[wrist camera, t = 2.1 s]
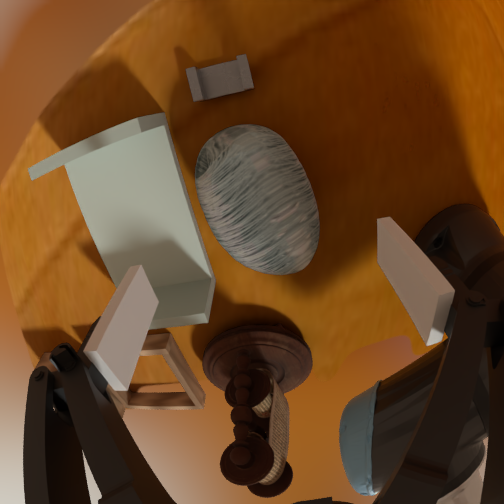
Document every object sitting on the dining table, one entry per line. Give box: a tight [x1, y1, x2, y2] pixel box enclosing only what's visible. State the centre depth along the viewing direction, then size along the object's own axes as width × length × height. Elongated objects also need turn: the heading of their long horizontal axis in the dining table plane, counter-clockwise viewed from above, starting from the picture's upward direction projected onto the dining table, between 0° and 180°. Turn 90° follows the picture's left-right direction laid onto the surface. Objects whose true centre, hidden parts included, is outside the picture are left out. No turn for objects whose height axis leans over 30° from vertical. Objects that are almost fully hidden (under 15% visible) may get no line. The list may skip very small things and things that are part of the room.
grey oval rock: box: [195, 124, 320, 275], centre depth 25 cm, size 14×10×10 cm
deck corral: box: [107, 333, 205, 410], centre depth 41 cm, size 15×15×3 cm
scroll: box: [202, 323, 312, 498], centre depth 31 cm, size 15×15×20 cm
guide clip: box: [185, 54, 254, 102], centre depth 22 cm, size 5×3×3 cm, turn 102°
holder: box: [28, 112, 216, 329], centre depth 27 cm, size 12×19×7 cm, turn 12°
